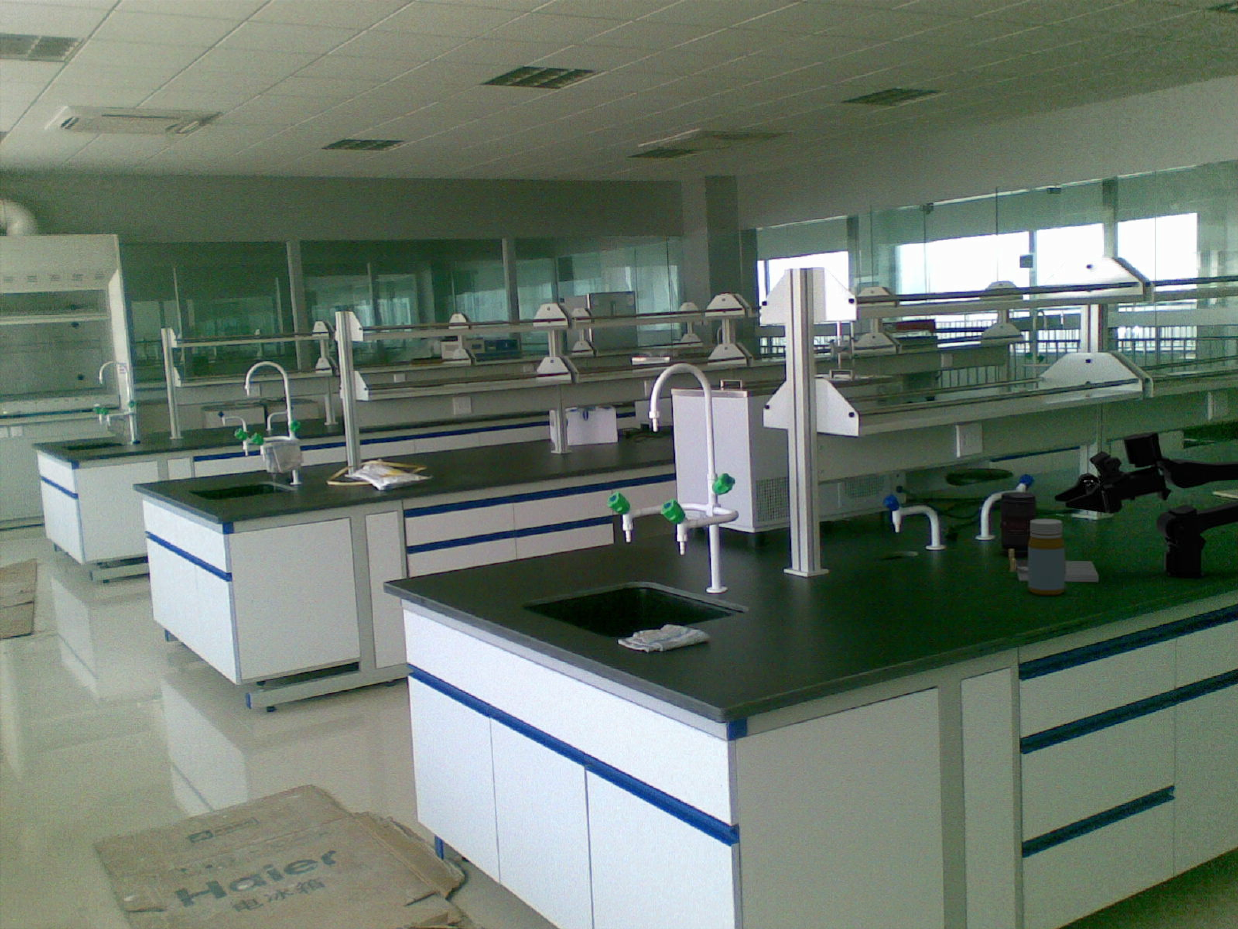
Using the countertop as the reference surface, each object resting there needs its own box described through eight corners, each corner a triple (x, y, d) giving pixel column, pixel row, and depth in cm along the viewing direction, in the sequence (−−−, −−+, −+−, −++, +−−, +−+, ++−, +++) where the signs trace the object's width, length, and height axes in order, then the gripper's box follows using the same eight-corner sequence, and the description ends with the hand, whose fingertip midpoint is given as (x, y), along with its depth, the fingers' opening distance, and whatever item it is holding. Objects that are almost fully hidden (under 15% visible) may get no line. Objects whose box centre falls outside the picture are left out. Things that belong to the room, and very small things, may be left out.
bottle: (1055, 587, 230) (1055, 517, 228) (1070, 595, 223) (1070, 523, 221) (1023, 589, 229) (1022, 519, 228) (1037, 597, 223) (1036, 525, 221)
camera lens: (1014, 560, 257) (1013, 497, 256) (994, 554, 265) (993, 493, 263) (1043, 556, 259) (1043, 494, 258) (1022, 550, 267) (1022, 490, 265)
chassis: (1091, 567, 245) (1091, 548, 245) (1098, 582, 232) (1098, 561, 232) (1008, 566, 251) (1008, 547, 250) (1010, 580, 238) (1010, 560, 237)
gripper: (1112, 444, 243) (1041, 461, 245) (1139, 453, 224) (1062, 472, 227) (1123, 491, 244) (1052, 508, 246) (1151, 504, 225) (1074, 522, 228)
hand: (1060, 501), depth 237 cm, fingers open, 9 cm apart
